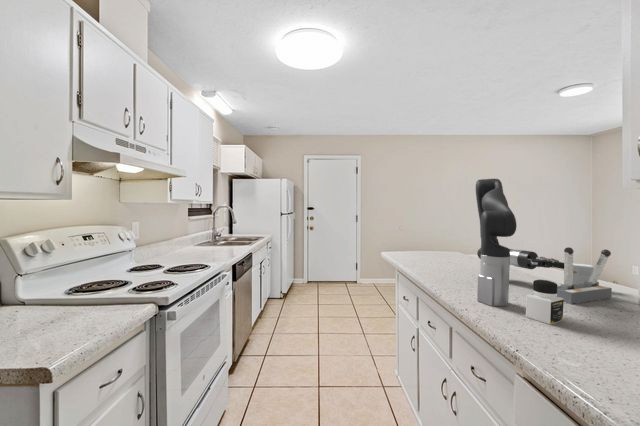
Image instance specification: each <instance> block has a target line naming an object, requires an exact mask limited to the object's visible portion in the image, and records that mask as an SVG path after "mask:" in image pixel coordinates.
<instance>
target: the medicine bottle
mask: <svg viewBox="0 0 640 426" xmlns="http://www.w3.org/2000/svg"><path fill="white" fill-rule="evenodd" d="M532 285H533V286H532V293H530V294H526V300H525V317H526V318H529V319H531V320H535V321H538V322H541V323H545V324H547V325H551V326H552V325H554V324H557V323H560V322H563V320H564V319H563V318H564V302H563V301H564V299H563V298H560V297H556V296H557V286H559V285H558V283H556V282H554V281H552V280H549V279H536V280H533V281H532Z"/></svg>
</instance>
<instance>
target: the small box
mask: <svg viewBox="0 0 640 426" xmlns="http://www.w3.org/2000/svg"><path fill="white" fill-rule="evenodd" d="M594 268H595V266H593V265H592V264H585V263H574V262H573V284H583V283H584V282H588V281H589V279H590V277H591V275H592V272H593V270H594Z"/></svg>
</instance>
